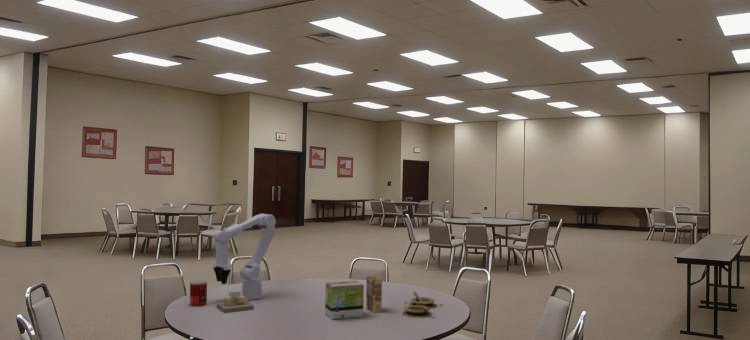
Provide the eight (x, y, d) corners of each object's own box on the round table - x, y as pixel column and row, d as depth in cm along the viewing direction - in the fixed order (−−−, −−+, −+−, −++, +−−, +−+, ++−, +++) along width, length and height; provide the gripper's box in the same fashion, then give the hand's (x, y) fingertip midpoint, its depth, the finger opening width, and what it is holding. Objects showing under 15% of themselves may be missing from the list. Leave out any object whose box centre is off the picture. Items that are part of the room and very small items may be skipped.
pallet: (241, 302, 273) (241, 294, 273) (244, 304, 268) (244, 296, 268) (224, 304, 268) (225, 296, 268) (228, 306, 264) (228, 298, 264)
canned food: (202, 306, 272) (202, 283, 272) (186, 305, 273) (186, 283, 273) (209, 303, 279) (210, 280, 279) (195, 302, 281) (195, 280, 281)
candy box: (382, 311, 264) (382, 278, 264) (374, 312, 262) (374, 279, 262) (374, 307, 272) (374, 275, 272) (365, 308, 270) (366, 276, 270)
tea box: (332, 320, 248) (332, 286, 248) (324, 314, 258) (324, 282, 258) (363, 316, 254) (364, 283, 254) (355, 311, 264) (355, 279, 264)
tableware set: (405, 302, 284) (405, 291, 284) (444, 305, 280) (444, 293, 280) (393, 317, 255) (393, 304, 255) (437, 320, 251) (437, 307, 251)
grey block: (238, 295, 271) (238, 289, 271) (240, 296, 268) (240, 291, 268) (229, 296, 269) (229, 290, 269) (231, 297, 266) (231, 292, 266)
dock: (245, 304, 277) (245, 299, 277) (253, 309, 267) (253, 304, 267) (216, 307, 270) (216, 303, 270) (224, 313, 260) (224, 308, 260)
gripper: (209, 253, 284) (209, 280, 284) (218, 257, 272) (218, 286, 272) (223, 252, 288) (223, 279, 288) (232, 256, 275) (232, 284, 275)
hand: (221, 282), depth 280 cm, fingers open, 7 cm apart
